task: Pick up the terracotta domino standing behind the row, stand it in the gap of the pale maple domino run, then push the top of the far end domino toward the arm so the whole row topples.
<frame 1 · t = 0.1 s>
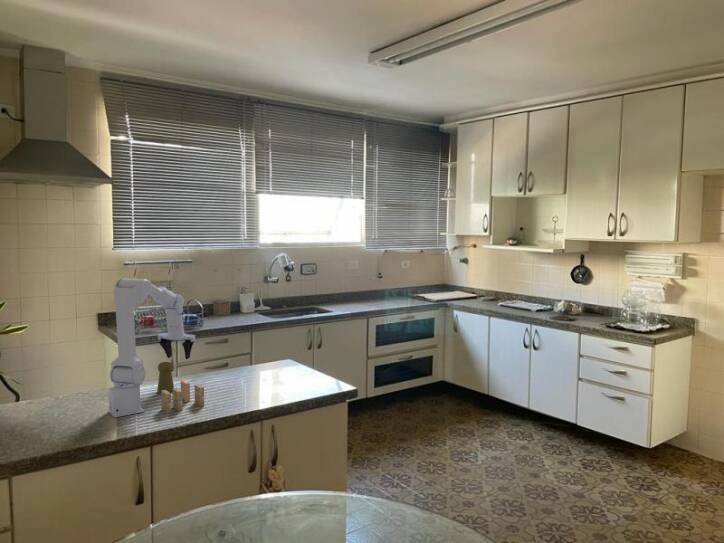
hand: (178, 357, 211), 11 cm above the countertop, tool pointing down, fingers open, 7 cm apart
end domino: (199, 404, 189), on the countertop
middle domino: (177, 408, 184), on the countertop
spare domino: (185, 399, 194), on the countertop
cork: (165, 392, 203), on the countertop
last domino: (166, 411, 182), on the countertop
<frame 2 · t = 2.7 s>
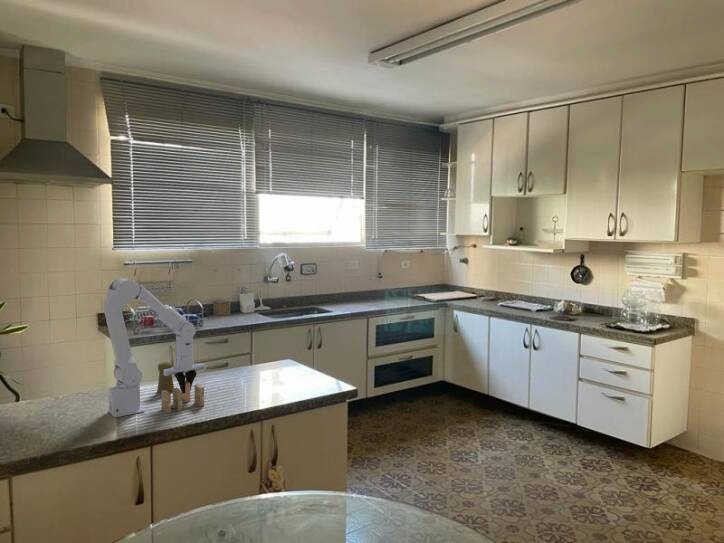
hand: (185, 392, 194), 3 cm above the countertop, tool pointing down, fingers closed on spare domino, 1 cm apart
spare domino: (185, 399, 194), on the countertop, touching gripper
everything else where it was.
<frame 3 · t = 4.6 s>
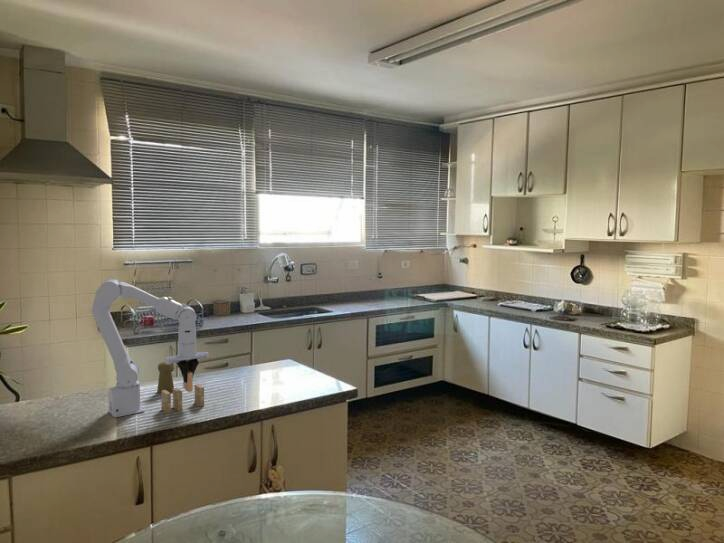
hand: (188, 381, 187), 8 cm above the countertop, tool pointing down, fingers closed on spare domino
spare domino: (187, 389, 187), point 6 cm above the countertop, touching gripper
everything else where it was.
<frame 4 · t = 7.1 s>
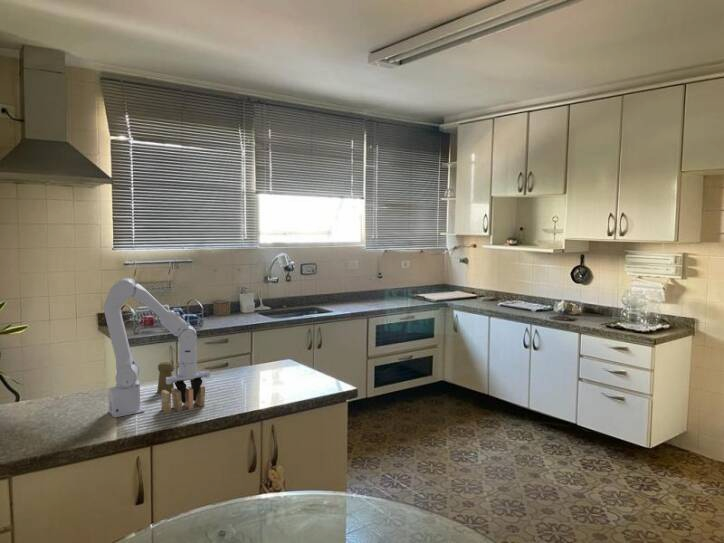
hand: (188, 401, 186), 2 cm above the countertop, tool pointing down, fingers open, 3 cm apart
middle domino: (177, 408, 184), on the countertop, touching gripper
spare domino: (188, 406, 187), on the countertop
everything else where it was.
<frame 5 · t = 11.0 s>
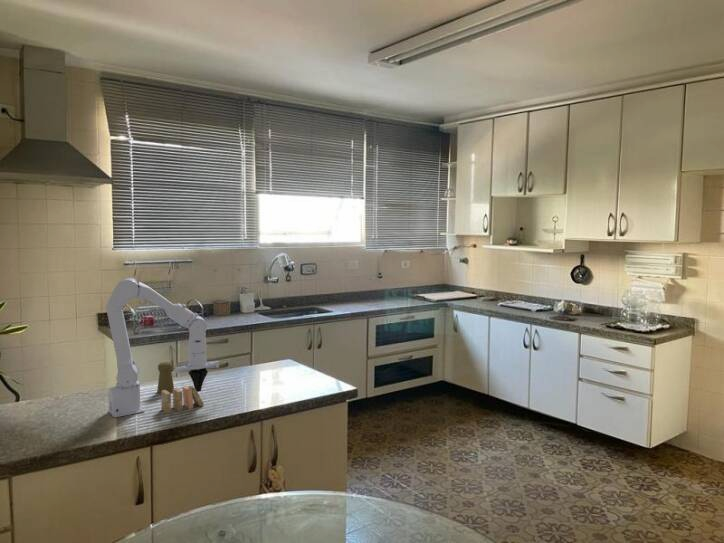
hand: (198, 390, 188), 5 cm above the countertop, tool pointing down, fingers closed
end domino: (199, 403, 189), on the countertop, tilted 25°
middle domino: (177, 408, 184), on the countertop
everything else where it was.
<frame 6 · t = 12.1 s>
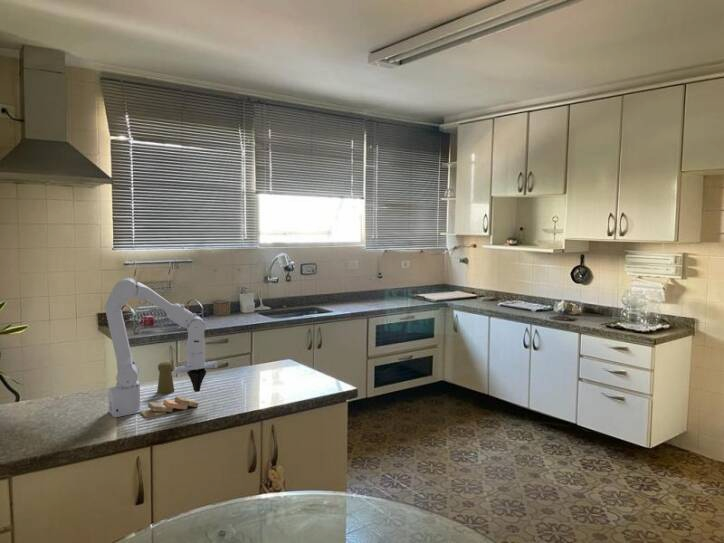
hand: (196, 390, 188), 5 cm above the countertop, tool pointing down, fingers closed
end domino: (195, 403, 188), point 1 cm above the countertop, tilted 68°, touching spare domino
middle domino: (169, 407, 182), point 1 cm above the countertop, tilted 74°, touching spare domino
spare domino: (184, 405, 186), point 1 cm above the countertop, tilted 71°, touching end domino, middle domino
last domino: (163, 411, 181), on the countertop, tilted 90°
everything else where it was.
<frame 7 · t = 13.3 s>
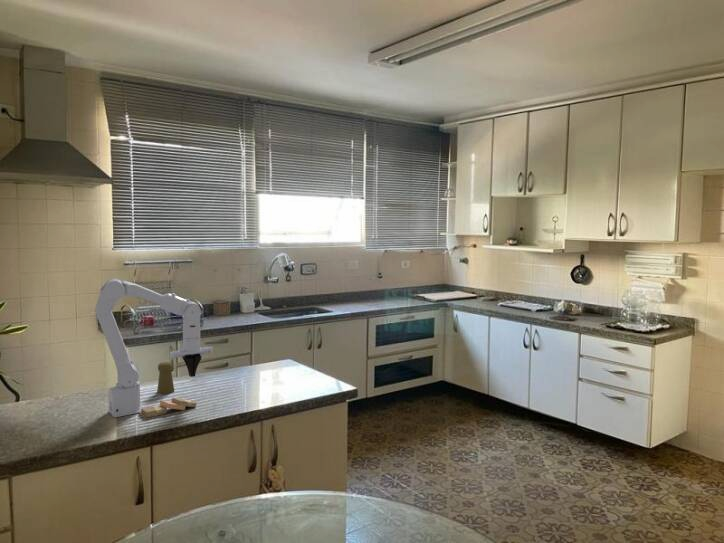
hand: (192, 376, 188), 10 cm above the countertop, tool pointing down, fingers closed
middle domino: (164, 408, 181), point 1 cm above the countertop, tilted 90°, touching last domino
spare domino: (181, 406, 185), point 1 cm above the countertop, tilted 70°, touching end domino
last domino: (162, 412, 181), on the countertop, tilted 90°, touching middle domino
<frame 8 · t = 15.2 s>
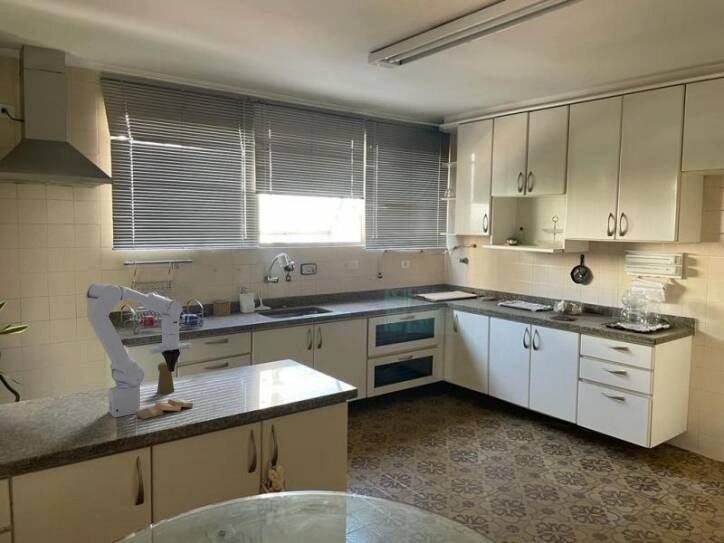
hand: (171, 371, 194), 10 cm above the countertop, tool pointing down, fingers closed
end domino: (189, 403, 187), point 1 cm above the countertop, tilted 73°, touching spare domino
middle domino: (158, 409, 180), point 1 cm above the countertop, tilted 90°, touching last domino
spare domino: (176, 407, 184), point 1 cm above the countertop, tilted 73°, touching end domino
everything else where it was.
at the end: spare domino inside the target area (2.5 cm from its centre), point 0.6 cm above the countertop; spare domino tilted 73°; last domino tilted 90° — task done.
